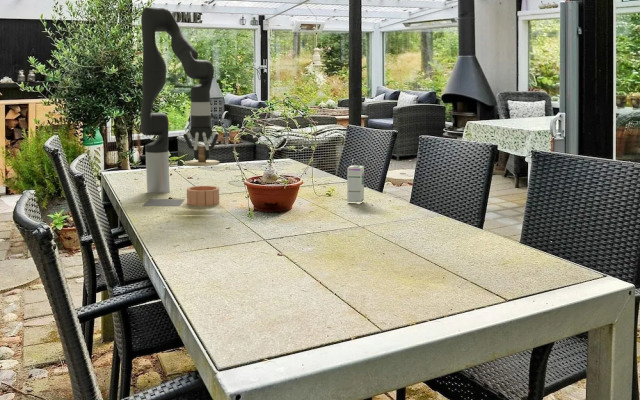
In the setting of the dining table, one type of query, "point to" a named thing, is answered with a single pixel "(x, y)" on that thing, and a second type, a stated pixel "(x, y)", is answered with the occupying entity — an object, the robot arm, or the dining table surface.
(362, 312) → the dining table surface
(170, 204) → the mat
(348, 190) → the syrup box
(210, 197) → the bowl
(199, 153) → the lid
